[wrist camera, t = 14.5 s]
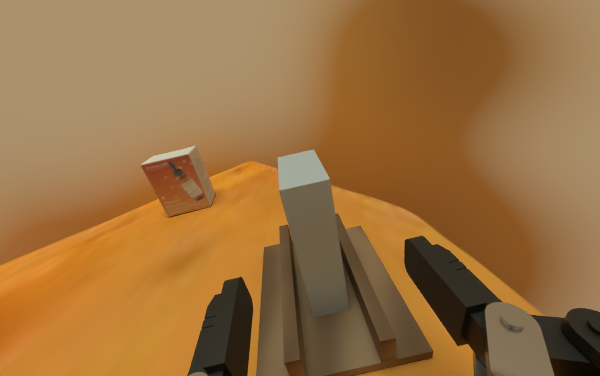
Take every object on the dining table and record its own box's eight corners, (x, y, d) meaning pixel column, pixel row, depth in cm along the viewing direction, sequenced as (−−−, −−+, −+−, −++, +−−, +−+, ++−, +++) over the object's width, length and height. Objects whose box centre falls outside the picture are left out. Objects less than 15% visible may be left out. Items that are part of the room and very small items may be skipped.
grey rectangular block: (313, 317, 18) (279, 190, 13) (304, 263, 24) (277, 157, 18) (349, 309, 18) (329, 179, 13) (332, 257, 24) (313, 149, 18)
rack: (258, 396, 15) (243, 372, 14) (265, 252, 28) (258, 231, 26) (432, 357, 15) (435, 328, 14) (360, 230, 28) (358, 208, 26)
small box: (168, 218, 41) (138, 165, 36) (177, 203, 46) (152, 155, 41) (211, 206, 41) (188, 153, 37) (216, 193, 46) (196, 144, 42)
